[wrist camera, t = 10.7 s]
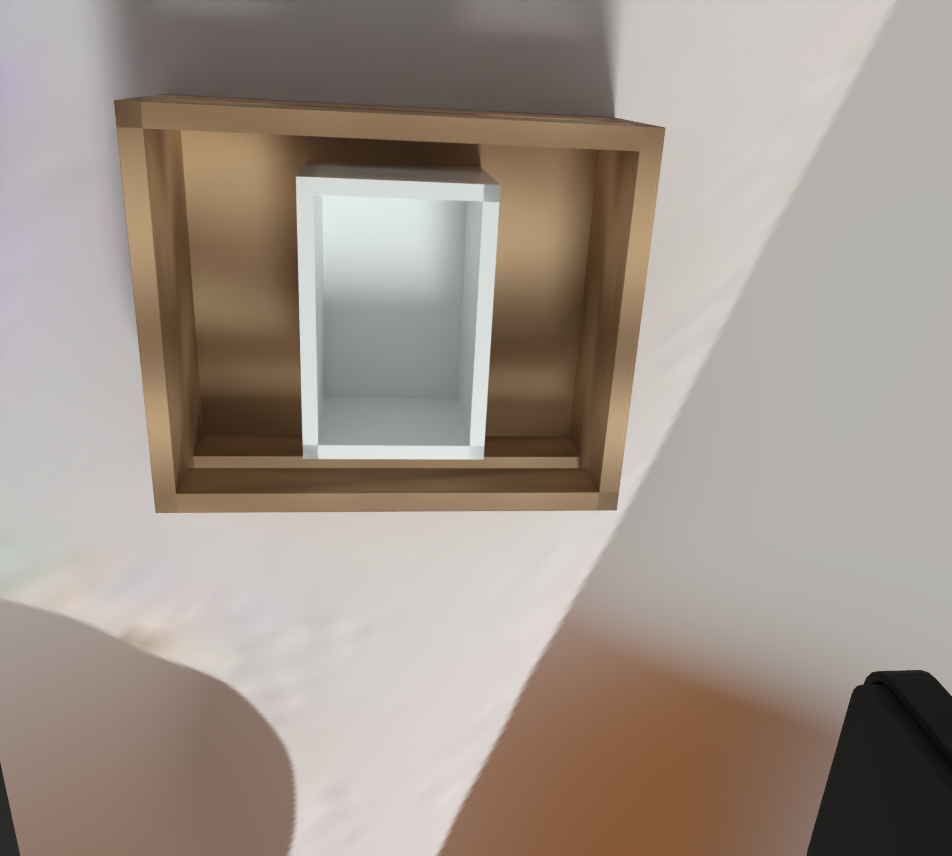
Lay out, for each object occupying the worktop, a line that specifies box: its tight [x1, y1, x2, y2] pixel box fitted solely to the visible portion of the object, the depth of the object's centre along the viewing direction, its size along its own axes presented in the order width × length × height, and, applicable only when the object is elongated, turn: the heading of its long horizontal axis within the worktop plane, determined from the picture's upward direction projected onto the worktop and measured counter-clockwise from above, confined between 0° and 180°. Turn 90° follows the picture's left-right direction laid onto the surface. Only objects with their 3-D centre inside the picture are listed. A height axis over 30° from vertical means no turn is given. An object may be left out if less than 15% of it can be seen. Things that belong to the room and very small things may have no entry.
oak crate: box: [114, 95, 665, 513], centre depth 30 cm, size 13×16×6 cm
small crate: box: [296, 160, 501, 460], centre depth 29 cm, size 9×6×5 cm, turn 177°
